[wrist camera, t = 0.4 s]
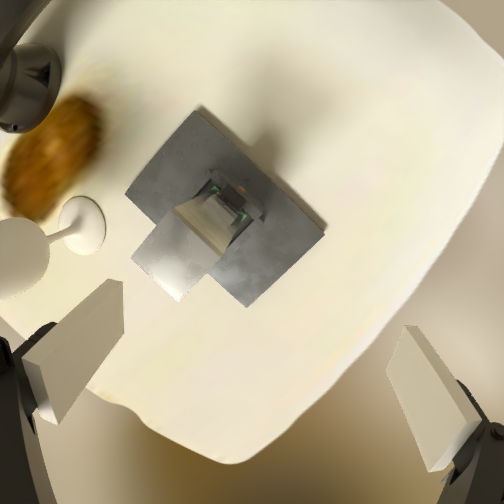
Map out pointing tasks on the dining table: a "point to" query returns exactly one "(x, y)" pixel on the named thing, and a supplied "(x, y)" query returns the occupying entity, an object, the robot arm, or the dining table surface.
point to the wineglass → (45, 244)
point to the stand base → (237, 193)
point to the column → (189, 242)
